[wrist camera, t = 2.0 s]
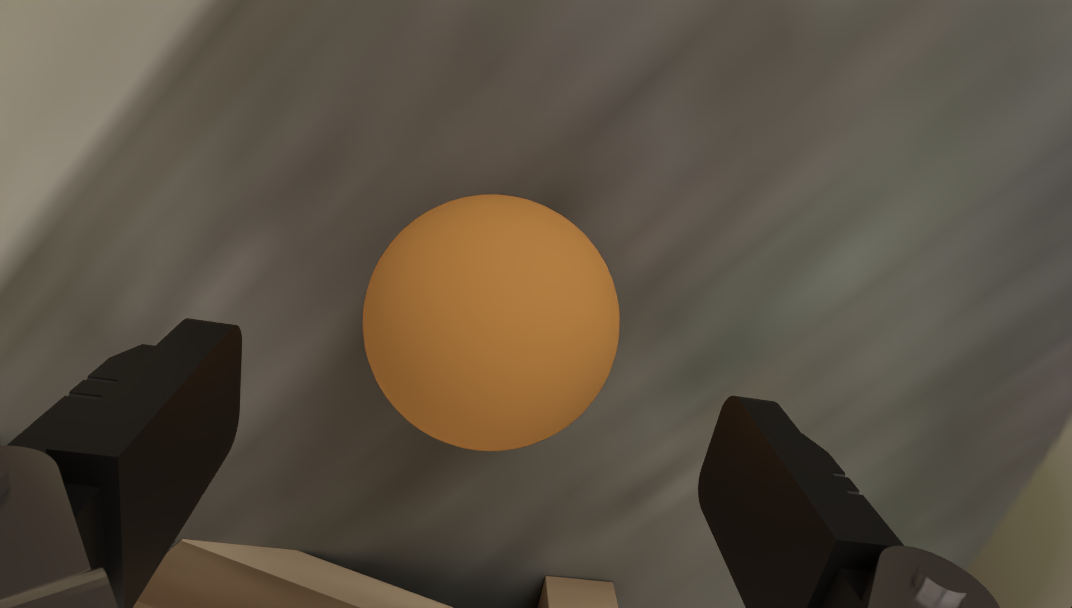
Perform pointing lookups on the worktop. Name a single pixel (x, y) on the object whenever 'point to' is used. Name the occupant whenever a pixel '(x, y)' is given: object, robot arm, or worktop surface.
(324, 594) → the ramp
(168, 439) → the robot arm
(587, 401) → the ball
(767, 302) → the worktop surface
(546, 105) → the worktop surface
